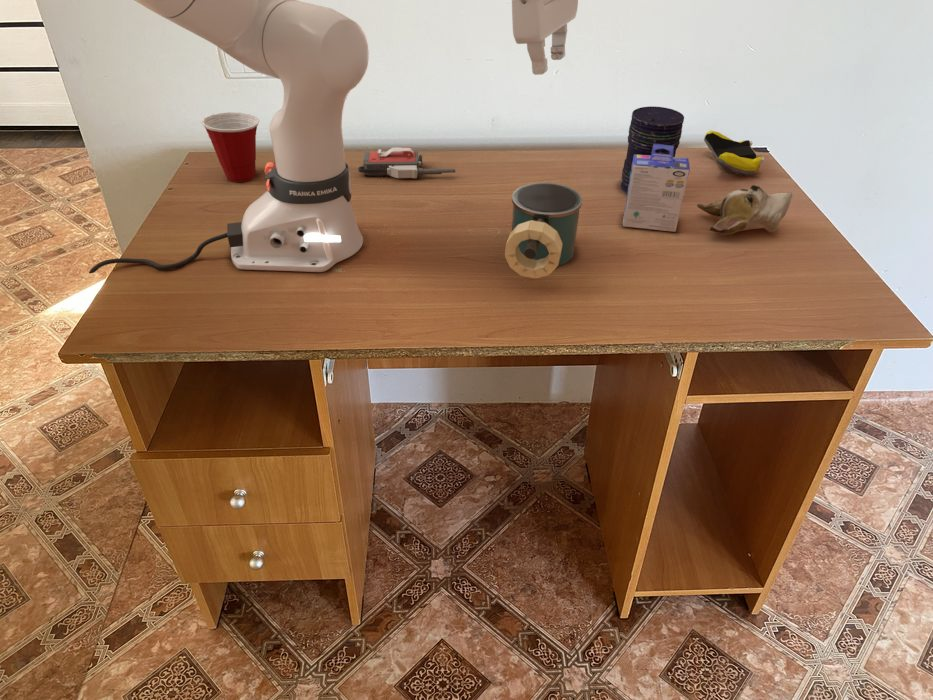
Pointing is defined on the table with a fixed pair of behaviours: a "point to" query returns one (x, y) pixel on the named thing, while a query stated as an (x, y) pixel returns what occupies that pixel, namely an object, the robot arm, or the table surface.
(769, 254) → the table surface
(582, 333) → the table surface
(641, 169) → the ink cartridge box
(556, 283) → the table surface
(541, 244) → the saucepan
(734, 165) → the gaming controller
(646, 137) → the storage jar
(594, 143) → the table surface
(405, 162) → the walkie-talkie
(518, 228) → the tape roll
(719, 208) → the ceramic sculpture
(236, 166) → the plastic cup
